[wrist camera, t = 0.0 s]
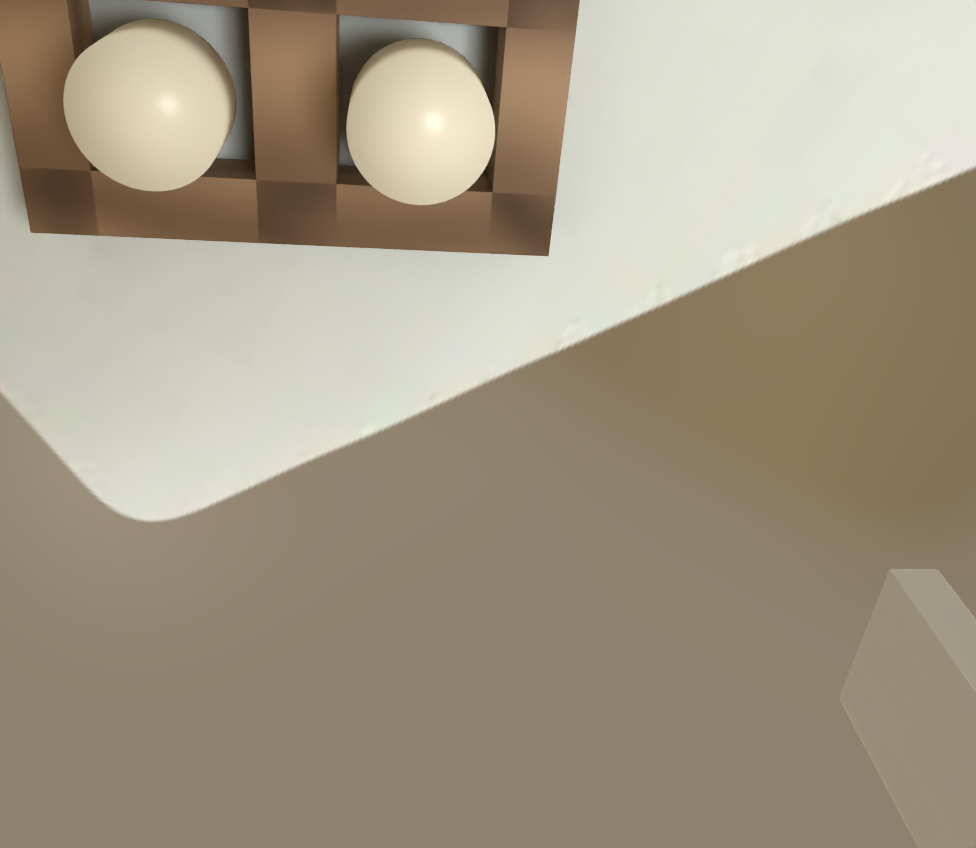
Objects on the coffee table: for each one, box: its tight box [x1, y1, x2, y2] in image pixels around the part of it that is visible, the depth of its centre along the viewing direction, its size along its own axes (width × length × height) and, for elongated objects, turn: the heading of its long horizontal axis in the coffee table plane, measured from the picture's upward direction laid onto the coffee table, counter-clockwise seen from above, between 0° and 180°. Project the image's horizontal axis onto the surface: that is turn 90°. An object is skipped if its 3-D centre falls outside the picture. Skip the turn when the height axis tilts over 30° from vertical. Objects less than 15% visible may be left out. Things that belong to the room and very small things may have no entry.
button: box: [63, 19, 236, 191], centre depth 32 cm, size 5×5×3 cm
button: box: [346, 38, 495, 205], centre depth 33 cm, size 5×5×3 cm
